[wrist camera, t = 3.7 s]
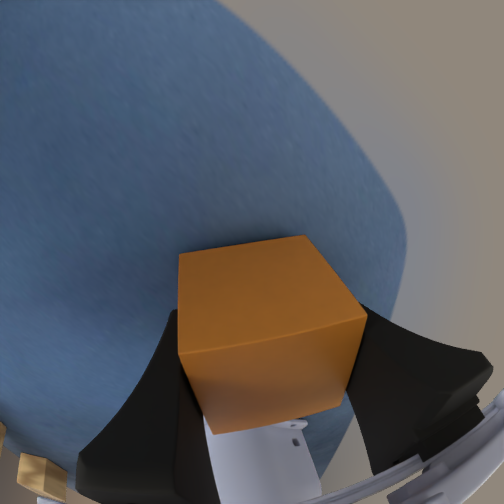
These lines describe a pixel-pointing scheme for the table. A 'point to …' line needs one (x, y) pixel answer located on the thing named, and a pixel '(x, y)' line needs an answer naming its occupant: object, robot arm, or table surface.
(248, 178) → the table surface
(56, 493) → the birch cube
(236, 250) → the ochre cube
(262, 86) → the table surface
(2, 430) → the birch cube
